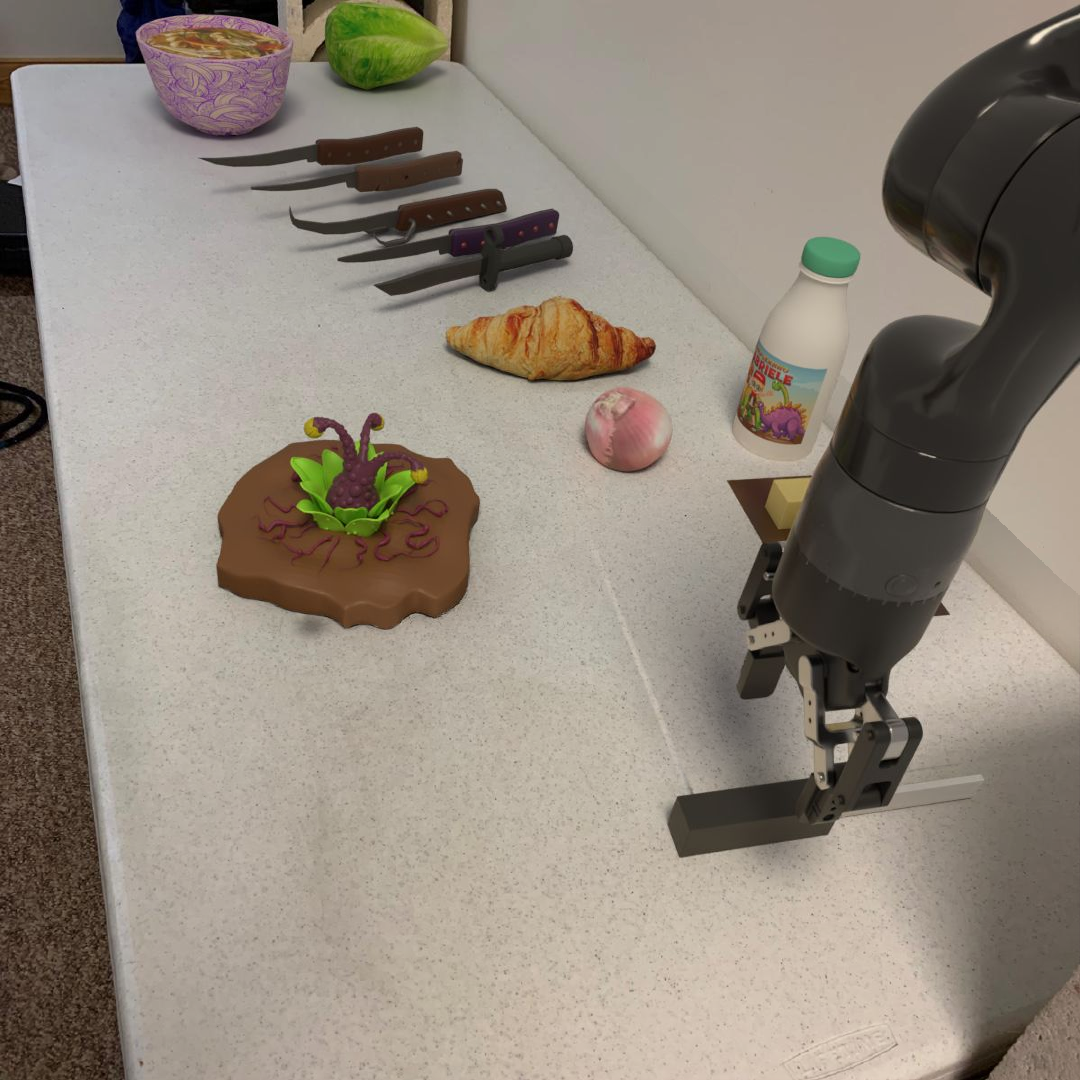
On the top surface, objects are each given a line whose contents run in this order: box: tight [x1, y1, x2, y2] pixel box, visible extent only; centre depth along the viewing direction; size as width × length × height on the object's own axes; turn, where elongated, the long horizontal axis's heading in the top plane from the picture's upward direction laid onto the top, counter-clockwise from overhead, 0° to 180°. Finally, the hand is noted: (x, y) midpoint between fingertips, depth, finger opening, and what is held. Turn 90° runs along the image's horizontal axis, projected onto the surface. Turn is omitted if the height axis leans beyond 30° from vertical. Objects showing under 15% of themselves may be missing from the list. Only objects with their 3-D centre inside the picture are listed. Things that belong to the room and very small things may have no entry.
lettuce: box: [324, 1, 450, 91], centre depth 155 cm, size 14×20×12 cm
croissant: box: [445, 295, 657, 381], centre depth 99 cm, size 21×10×8 cm, turn 93°
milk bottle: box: [731, 236, 861, 463], centre depth 88 cm, size 8×8×20 cm
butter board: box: [726, 474, 951, 617], centre depth 83 cm, size 12×18×1 cm, turn 13°
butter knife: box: [667, 773, 985, 858], centre depth 62 cm, size 21×2×3 cm, turn 103°
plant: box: [215, 412, 481, 630], centre depth 75 cm, size 20×20×11 cm
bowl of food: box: [135, 14, 295, 136], centre depth 135 cm, size 20×20×12 cm
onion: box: [584, 386, 674, 472], centre depth 88 cm, size 8×8×7 cm
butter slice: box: [765, 478, 811, 529], centre depth 84 cm, size 8×3×3 cm, turn 103°
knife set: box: [198, 126, 574, 297], centre depth 117 cm, size 35×33×8 cm
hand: (780, 751), depth 57 cm, fingers open, 8 cm apart
